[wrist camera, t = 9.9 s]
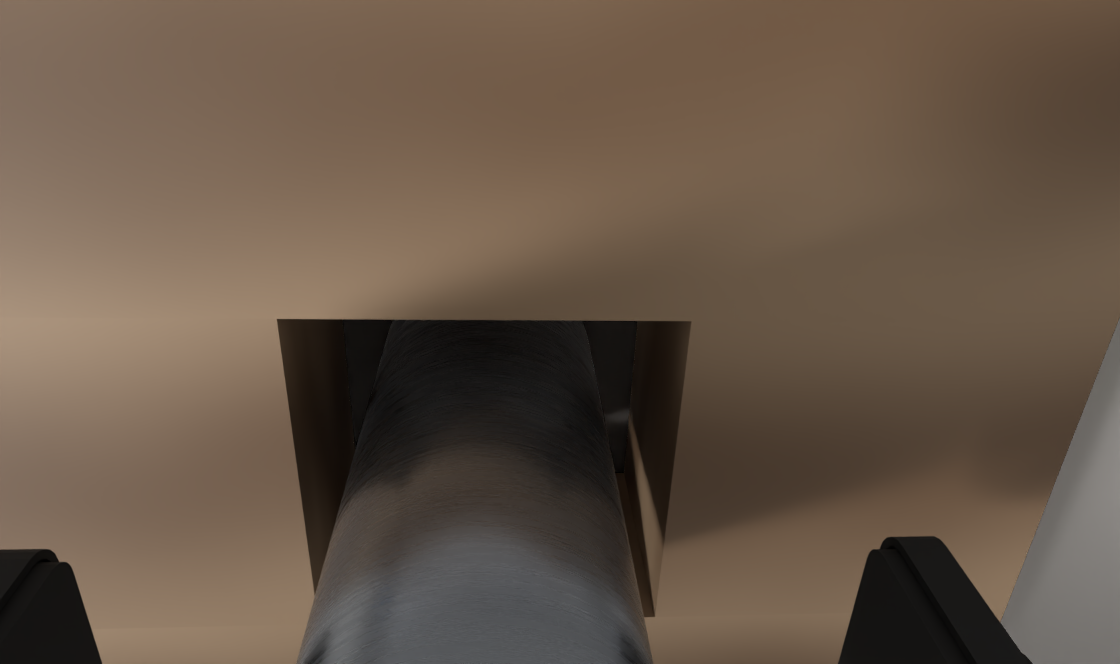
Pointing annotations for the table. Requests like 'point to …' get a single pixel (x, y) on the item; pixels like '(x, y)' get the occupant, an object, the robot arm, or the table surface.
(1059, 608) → the table surface
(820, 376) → the socket
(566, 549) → the peg
